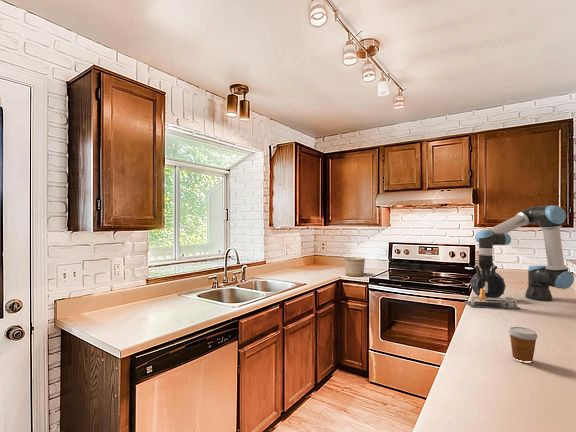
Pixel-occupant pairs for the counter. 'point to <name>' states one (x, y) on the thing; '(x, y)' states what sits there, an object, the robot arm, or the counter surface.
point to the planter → (354, 266)
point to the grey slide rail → (508, 299)
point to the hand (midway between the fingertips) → (485, 292)
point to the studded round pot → (494, 288)
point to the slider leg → (482, 295)
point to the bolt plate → (492, 305)
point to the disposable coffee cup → (523, 343)
